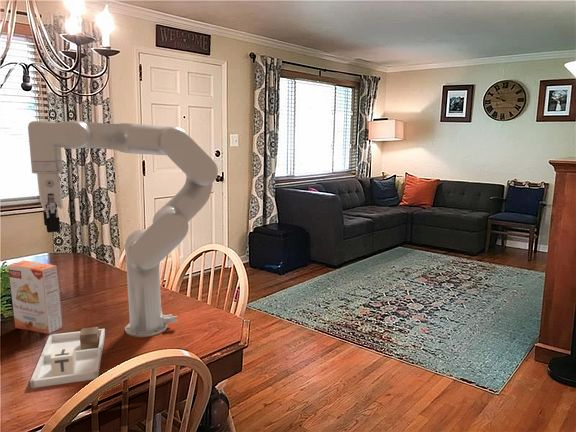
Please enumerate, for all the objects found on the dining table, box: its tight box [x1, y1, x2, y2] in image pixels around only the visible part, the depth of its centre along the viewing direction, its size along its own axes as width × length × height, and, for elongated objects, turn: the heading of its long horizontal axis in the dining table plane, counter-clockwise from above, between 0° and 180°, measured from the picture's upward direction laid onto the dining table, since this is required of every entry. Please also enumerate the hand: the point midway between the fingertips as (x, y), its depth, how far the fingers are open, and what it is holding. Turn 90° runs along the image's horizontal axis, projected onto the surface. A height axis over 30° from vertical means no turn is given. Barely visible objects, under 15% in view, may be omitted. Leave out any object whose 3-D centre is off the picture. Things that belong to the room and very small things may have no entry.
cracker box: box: [7, 260, 64, 335], centre depth 142 cm, size 14×6×21 cm, turn 69°
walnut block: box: [80, 326, 100, 350], centre depth 132 cm, size 4×4×4 cm
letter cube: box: [50, 347, 76, 377], centre depth 118 cm, size 5×5×5 cm
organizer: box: [29, 328, 106, 389], centre depth 125 cm, size 15×26×2 cm, turn 18°
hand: (52, 228), depth 129 cm, fingers open, 9 cm apart
